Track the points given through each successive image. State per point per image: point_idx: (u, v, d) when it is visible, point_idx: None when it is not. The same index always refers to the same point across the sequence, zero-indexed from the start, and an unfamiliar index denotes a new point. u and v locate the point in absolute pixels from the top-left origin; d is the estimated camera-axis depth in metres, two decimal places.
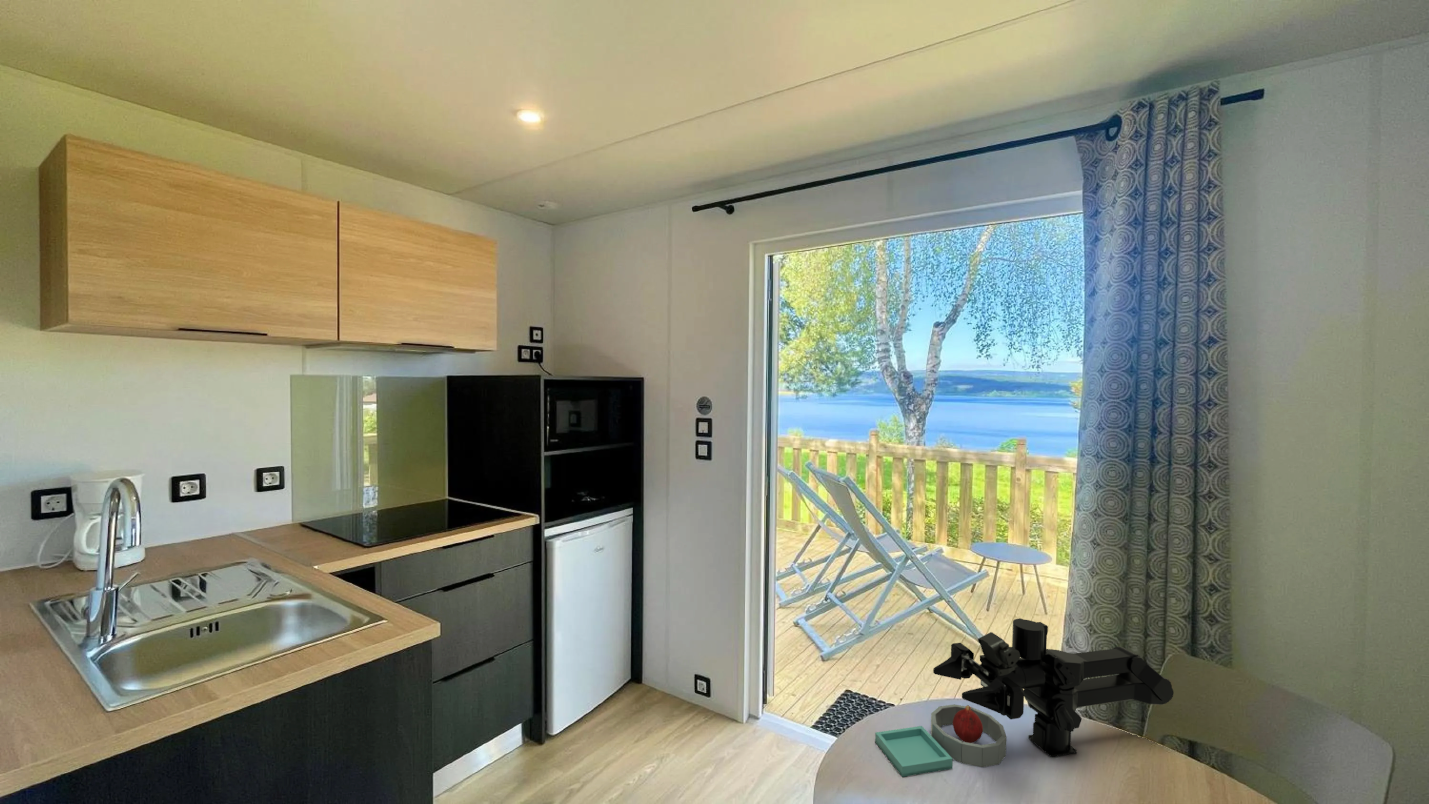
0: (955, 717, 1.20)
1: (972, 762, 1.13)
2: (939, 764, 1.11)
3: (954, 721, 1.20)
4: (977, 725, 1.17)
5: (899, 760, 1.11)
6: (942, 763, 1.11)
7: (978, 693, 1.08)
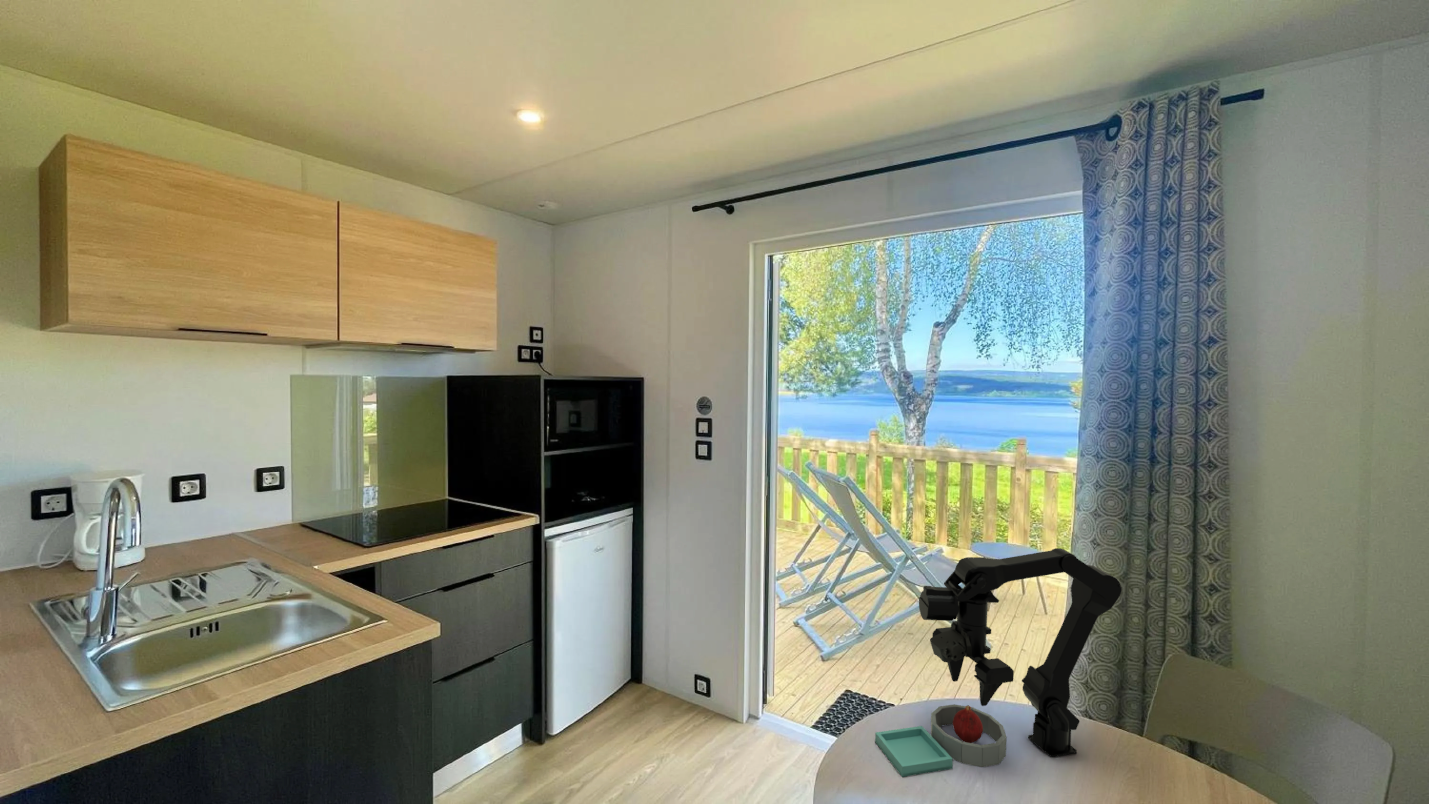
0: (955, 717, 1.20)
1: (972, 762, 1.13)
2: (939, 764, 1.11)
3: (954, 721, 1.20)
4: (977, 725, 1.17)
5: (899, 760, 1.11)
6: (942, 763, 1.11)
7: (984, 695, 1.13)
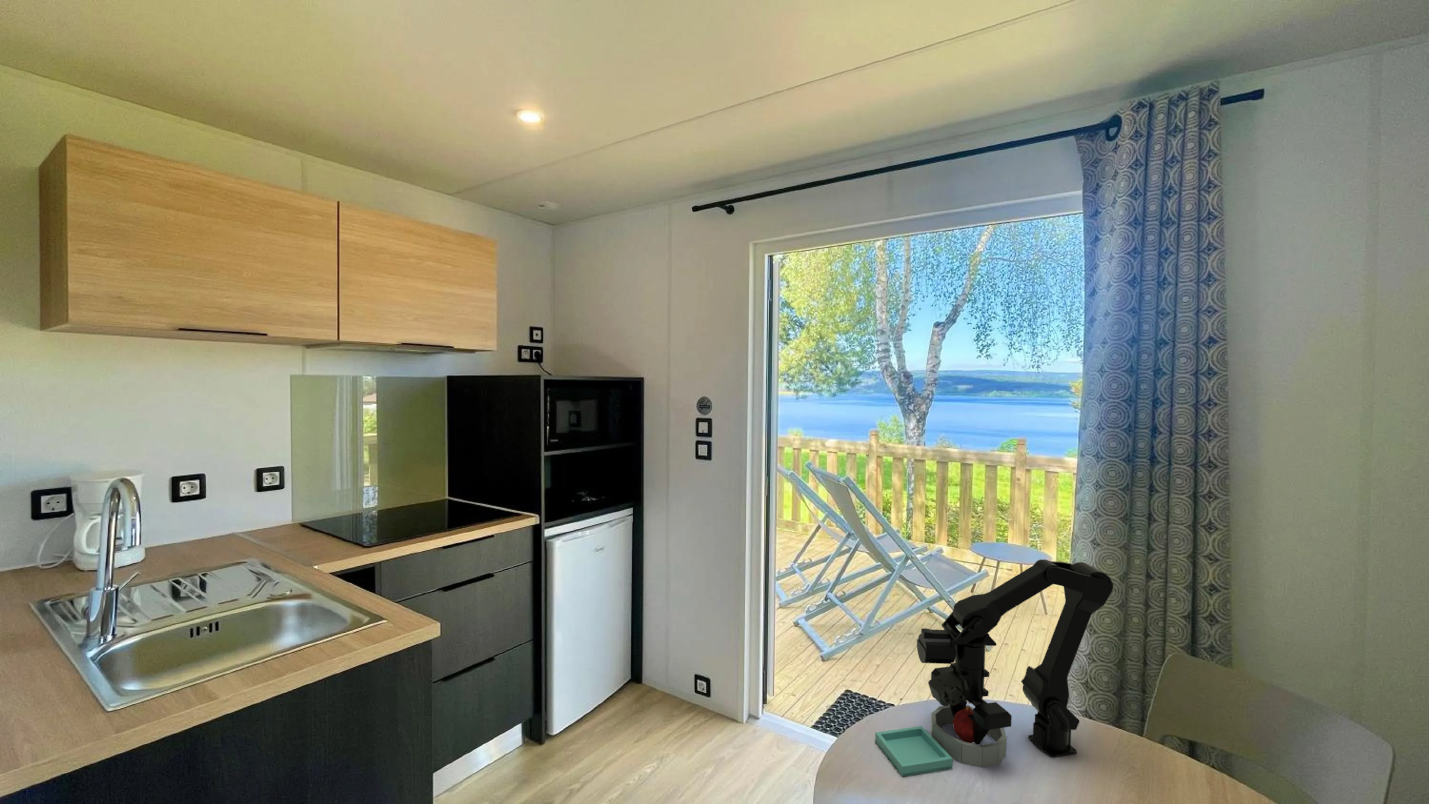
0: (955, 717, 1.20)
1: (972, 762, 1.13)
2: (939, 764, 1.11)
3: (954, 721, 1.20)
4: None
5: (899, 760, 1.11)
6: (942, 763, 1.11)
7: (977, 734, 1.15)
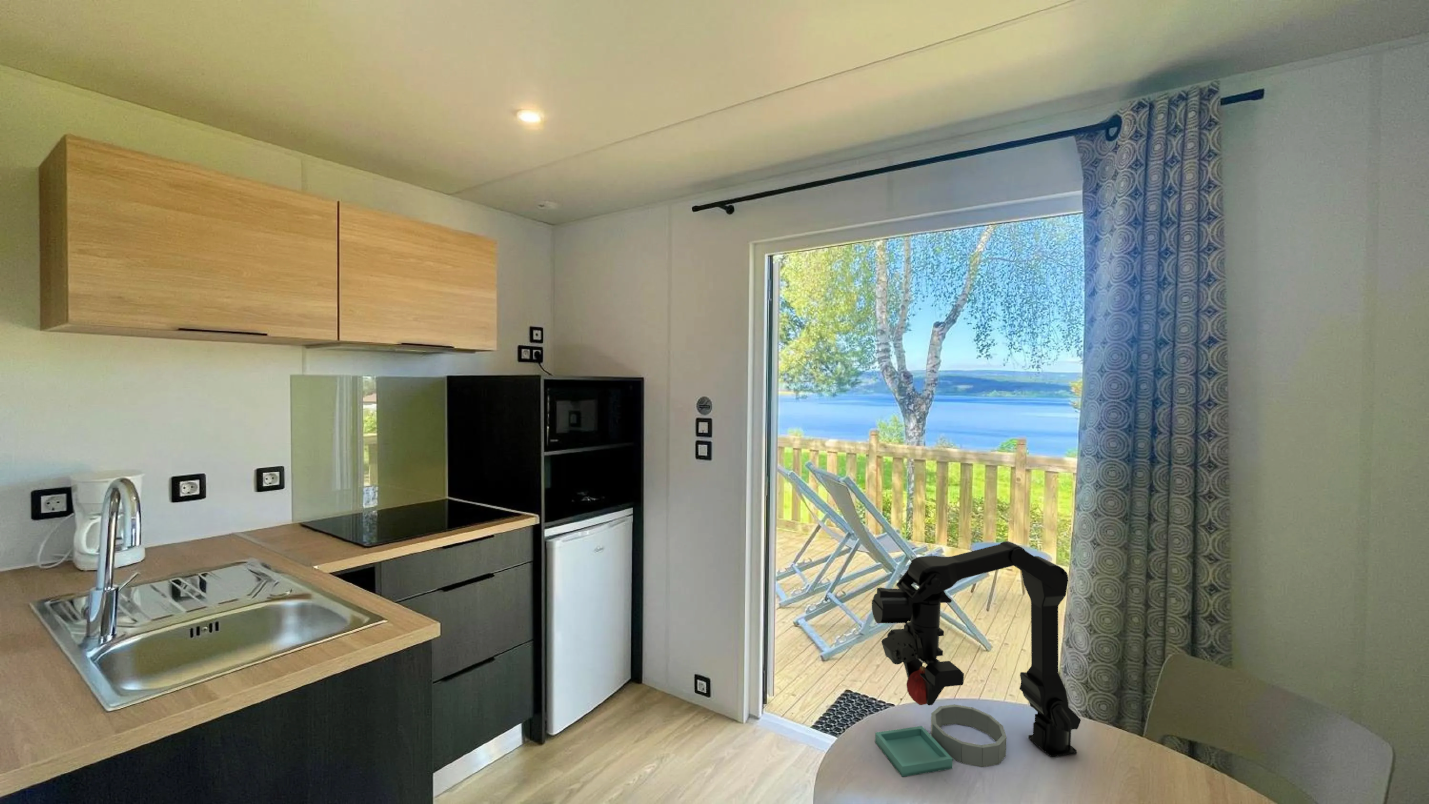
0: (909, 677, 1.16)
1: (972, 762, 1.13)
2: (939, 764, 1.11)
3: (908, 682, 1.16)
4: None
5: (899, 760, 1.11)
6: (942, 763, 1.11)
7: (930, 694, 1.11)
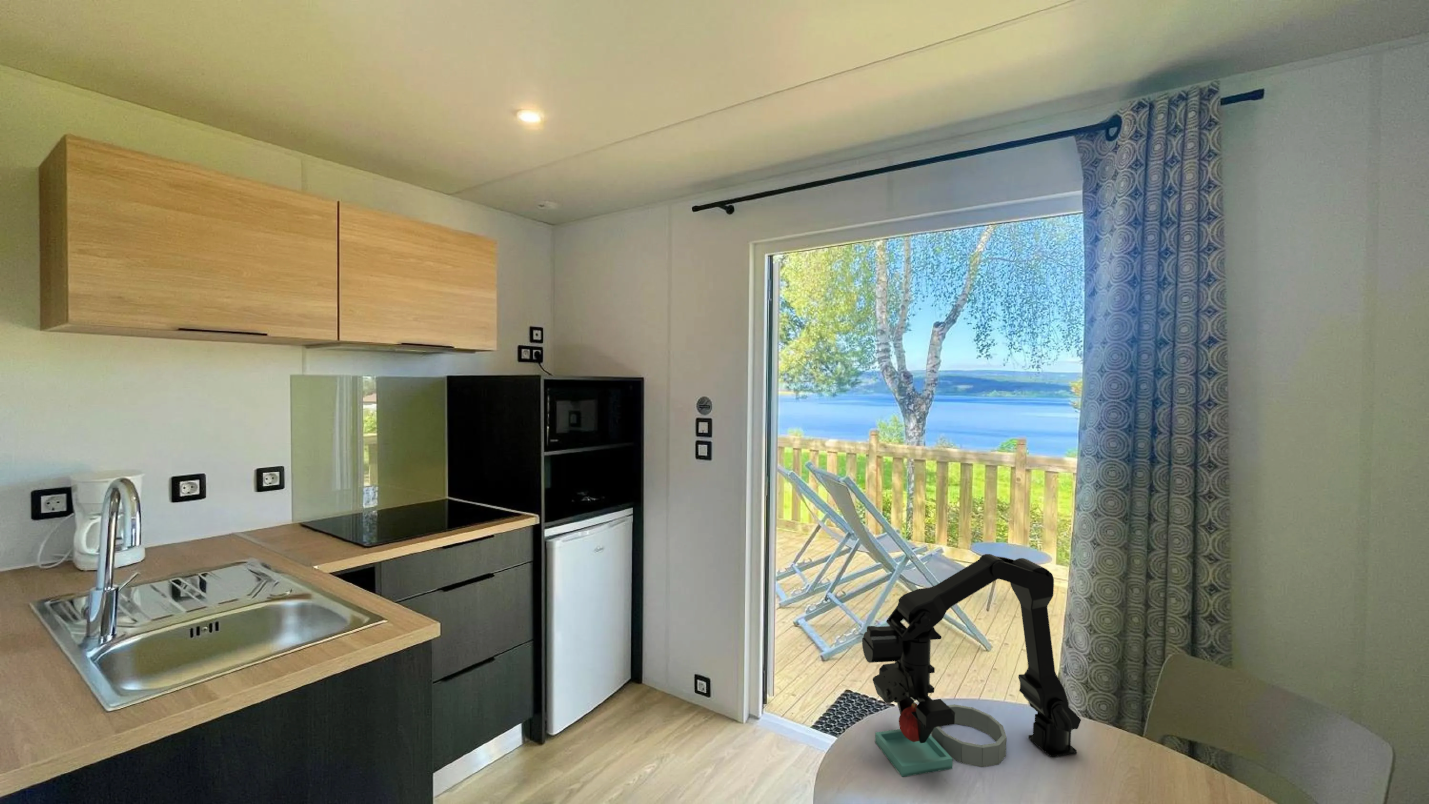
0: (901, 714, 1.16)
1: (972, 762, 1.13)
2: (939, 764, 1.11)
3: (900, 719, 1.16)
4: None
5: (899, 760, 1.11)
6: (942, 763, 1.11)
7: (922, 732, 1.11)
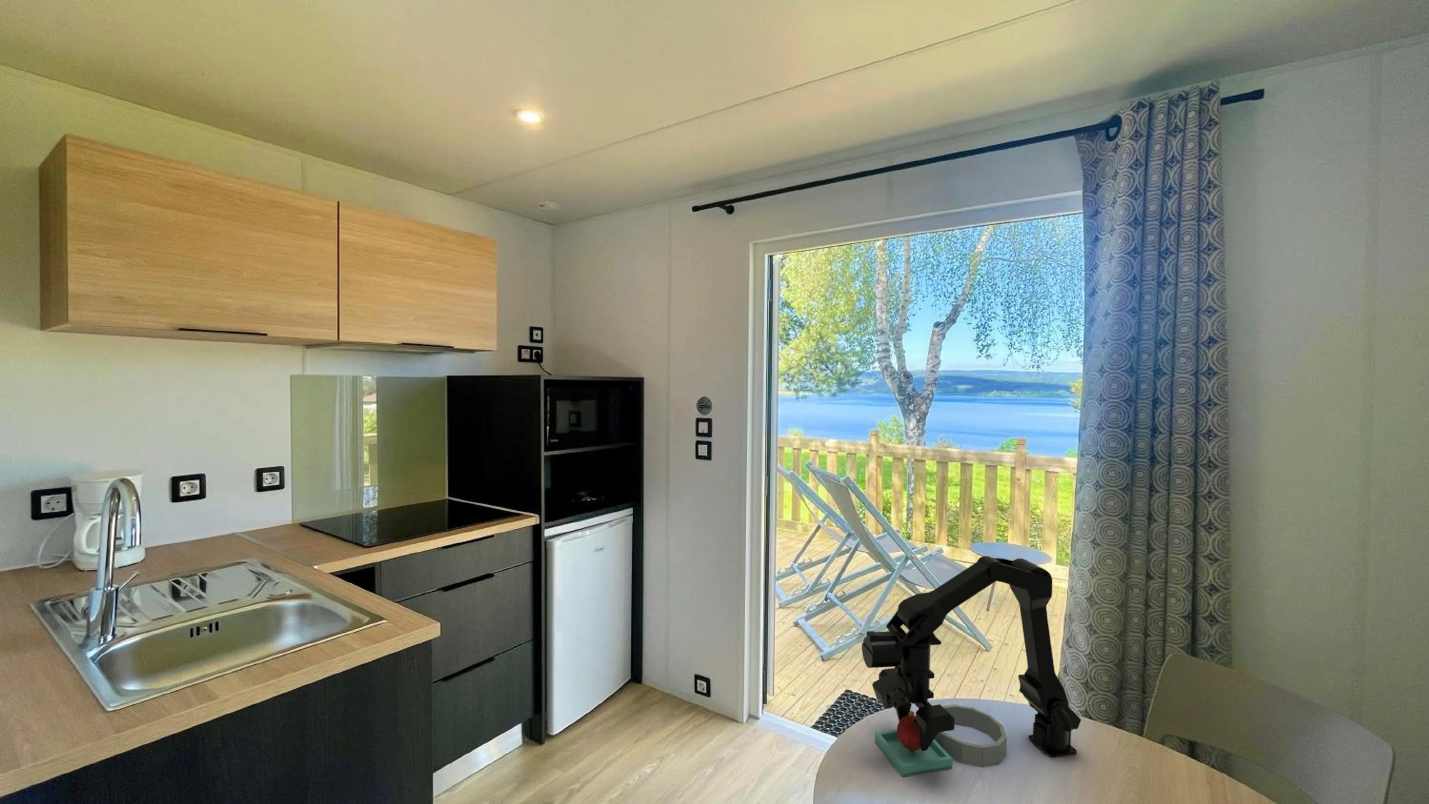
0: (899, 723, 1.16)
1: (972, 762, 1.13)
2: (939, 764, 1.11)
3: (898, 728, 1.16)
4: None
5: (899, 760, 1.11)
6: (942, 763, 1.11)
7: (924, 740, 1.11)
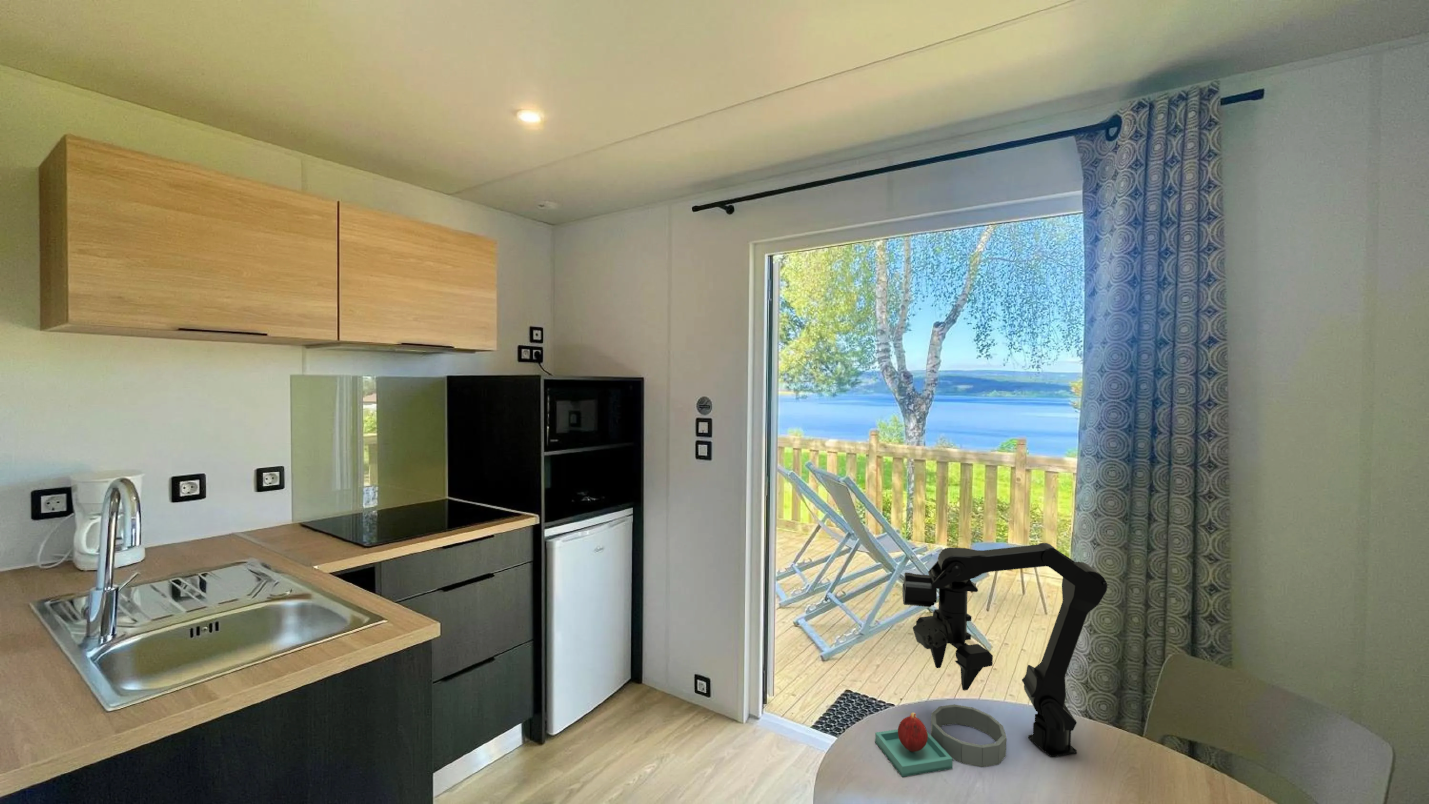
0: (900, 724, 1.16)
1: (972, 762, 1.13)
2: (939, 764, 1.11)
3: (899, 729, 1.16)
4: (921, 733, 1.13)
5: (899, 760, 1.11)
6: (942, 763, 1.11)
7: (965, 679, 1.17)
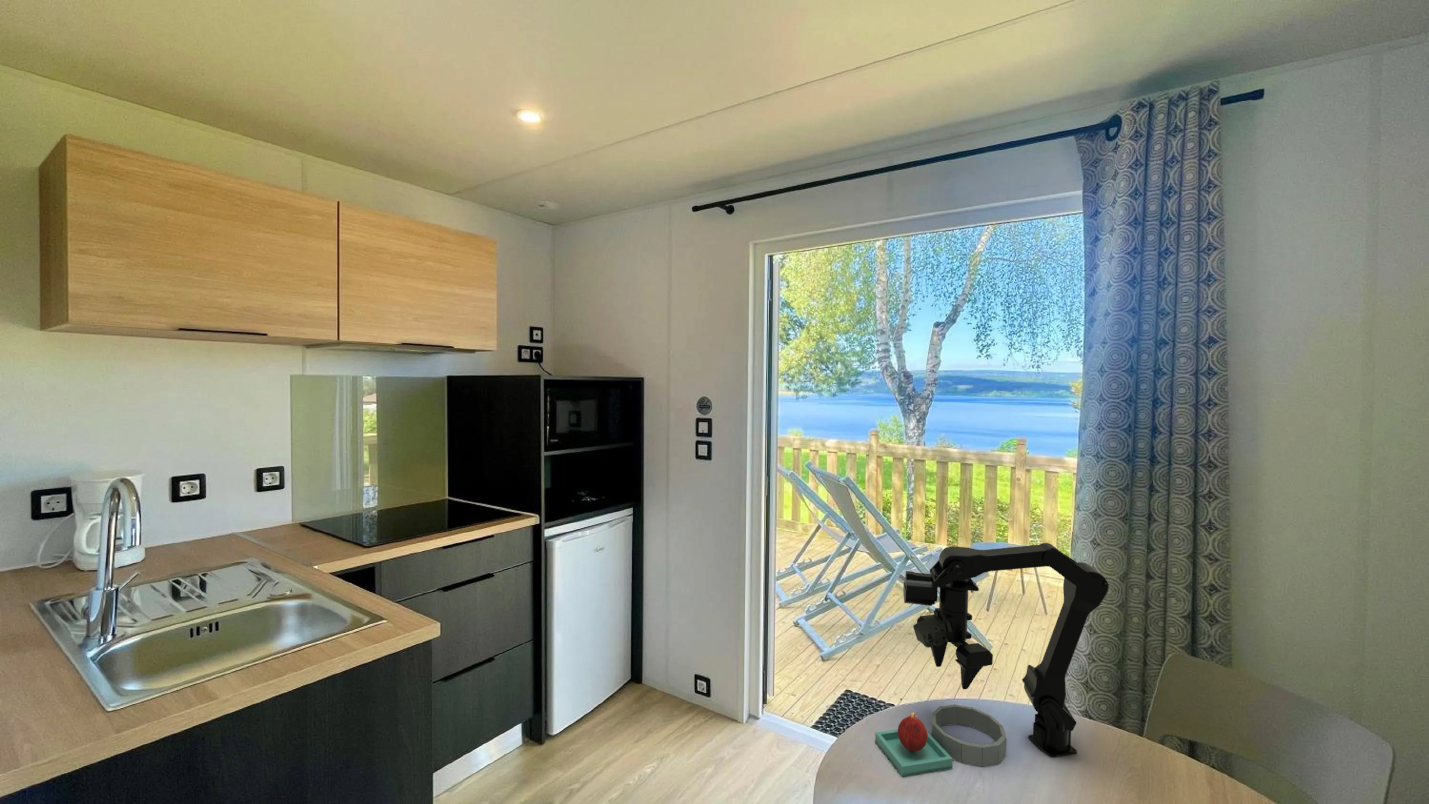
0: (900, 724, 1.16)
1: (972, 762, 1.13)
2: (939, 764, 1.11)
3: (899, 729, 1.16)
4: (921, 733, 1.13)
5: (899, 760, 1.11)
6: (942, 763, 1.11)
7: (965, 678, 1.17)
